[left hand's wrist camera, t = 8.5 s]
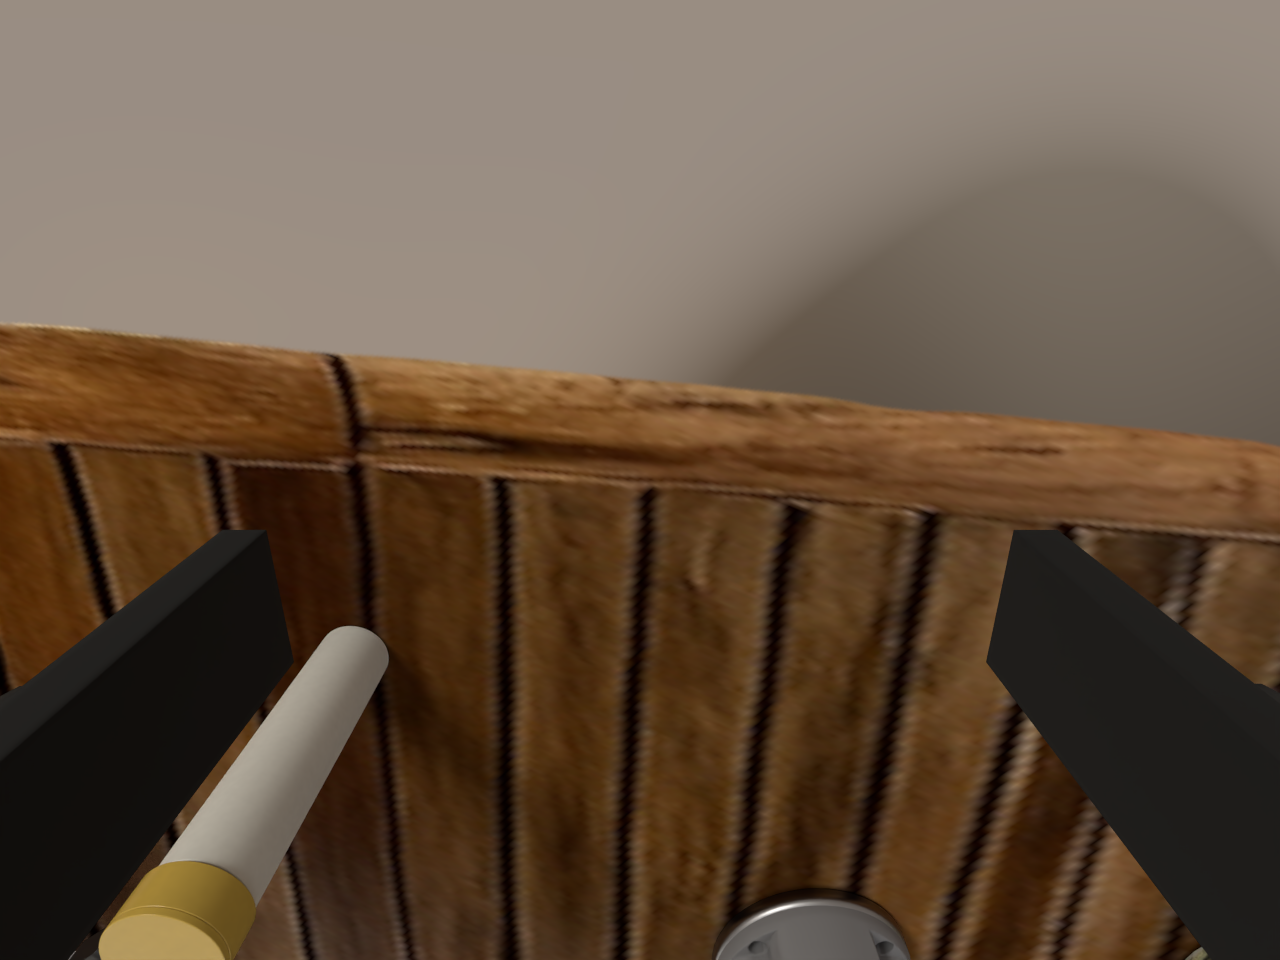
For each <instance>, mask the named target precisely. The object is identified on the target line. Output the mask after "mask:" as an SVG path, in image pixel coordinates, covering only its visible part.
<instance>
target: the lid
mask: <svg viewBox="0 0 1280 960" xmlns="http://www.w3.org/2000/svg"><path fill="white" fill-rule="evenodd" d="M255 916H256V906H255V902H254V899H253V897H252V895H251V893H250V892H249V890H248V889H247V888H246V886H245V885H244V884H243V883H242V882H241V881H239V880H238V879H237V878H236V877H234V876H233V875H231V874H230V873H228V872H226V871H224V870H222V869H220V868H218V867H215V866H212V865H209V864H205V863H201V862H194V861H175V862H169V863H166V864H162V865H160V866H158V867H156V868H154V869H152V870H151V871H150V872H148V873H147V874H146V875H145V876H144V877H143V879H142V880H141V881H140V883H139V884H138V885H137V887H136V888H135V890H134V891H133V892H132V894H131V895H130V896H129V898H128V899H127V900H126V902H125V903H124V904H123V906H122V907H121V909H120V910H119V911H118V913H117V914H116V915H115V917H114V918H113V919H112V921H111V922H110V924H109V925H108V926H107V927H106V929H105V930H104V932H103V933H102V935H101V938H100V941H99V954H100V958H101V960H234V958H235V956H236V955H237V953H238V951H239V949H240V947H241V945H242V943H243V942H244V940H245V938H246V936H247V934H248V932H249V930H250V929H251V927H252V925H253V923H254V920H255Z"/></svg>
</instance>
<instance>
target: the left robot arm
mask: <svg viewBox="0 0 1280 960" xmlns="http://www.w3.org/2000/svg"><path fill="white" fill-rule="evenodd" d="M293 662H294V661H293V656H292V651H291V646H290V641H289V637H288V632H287V627H286V622H285V618H284V613H283V608H282V603H281V599H280V594H279V589H278V584H277V579H276V575H275V570H274V565H273V560H272V556H271V551H270V546H269V541H268V536H267V532H266V530H222V531H221V532H219V533H218V534H217V535H216V536H214V537H213V538H212V539H210V540H209V541H208V542H207V543H205V544H204V545H203V546H201V547H200V548H199V549H198V550H196V551H195V552H194V553H192V554H191V555H190V556H189V557H187V558H186V559H185V560H183V561H182V562H181V563H180V564H178V565H177V566H176V567H175V568H173V569H172V570H171V571H169V572H168V573H167V574H166V575H164V576H163V577H162V578H160V579H159V580H158V581H157V582H155V583H154V584H153V585H151V586H150V587H149V588H148V589H146V590H145V591H144V592H142V593H141V594H140V595H139V596H137V597H136V598H135V599H134V600H132V601H131V602H130V603H128V604H127V605H126V606H125V607H123V608H122V609H121V610H119V611H118V612H117V613H116V614H114V615H113V616H112V617H110V618H109V619H108V620H107V621H105V622H104V623H103V624H101V625H100V626H99V627H98V628H96V629H95V630H94V631H92V632H91V633H90V634H89V635H87V636H86V637H85V638H84V639H82V640H81V641H80V642H78V643H77V644H76V645H75V646H73V647H72V648H71V649H69V650H68V651H67V652H66V653H64V654H63V655H62V656H60V657H59V658H58V659H57V660H55V661H54V662H53V663H51V664H50V665H49V666H48V667H46V668H45V669H44V670H42V671H41V672H40V673H39V674H37V675H36V676H35V677H34V678H32V679H31V680H30V681H28V682H27V683H26V684H25V685H23V686H19V687H17V688H15V689H13V690H11V691H10V692H8V693H6V694H4V695H2V696H0V960H69V958H70V957H71V956H72V954H73V953H74V952H75V950H76V949H77V948H78V947H79V945H80V944H81V943H82V941H83V940H84V939H85V937H86V936H87V935H88V933H89V932H90V931H91V929H92V928H93V927H94V925H95V924H96V923H97V921H98V920H99V919H100V917H101V916H102V915H103V913H104V912H105V911H106V910H107V908H108V907H109V906H110V904H111V903H112V902H113V900H114V899H115V898H116V896H117V895H118V894H119V892H120V891H121V890H122V888H123V887H124V886H125V884H126V883H127V882H128V880H129V879H130V878H131V876H132V875H133V874H134V873H135V871H136V870H137V869H138V867H139V866H140V865H141V863H142V862H143V861H144V859H145V858H146V857H147V855H148V854H149V853H150V851H151V850H152V849H153V847H154V846H155V845H156V843H157V842H158V841H159V839H160V838H161V837H162V836H163V834H164V833H165V832H166V830H167V829H168V828H169V826H170V825H171V824H172V822H173V821H174V820H175V818H176V817H177V816H178V814H179V813H180V812H181V810H182V809H183V808H184V806H185V805H186V804H187V802H188V801H189V800H190V798H191V797H192V796H193V795H194V793H195V792H196V791H197V789H198V788H199V787H200V785H201V784H202V783H203V781H204V780H205V779H206V777H207V776H208V775H209V773H210V772H211V771H212V769H213V768H214V767H215V765H216V764H217V763H218V761H219V760H220V759H221V758H222V756H223V755H224V754H225V752H226V751H227V750H228V748H229V747H230V746H231V744H232V743H233V742H234V740H235V739H236V738H237V736H238V735H239V734H240V732H241V731H242V730H243V728H244V727H245V726H246V724H247V723H248V722H249V721H250V719H251V718H252V717H253V715H254V714H255V713H256V711H257V710H258V709H259V707H260V706H261V705H262V703H263V702H264V701H265V699H266V698H267V697H268V695H269V694H270V693H271V691H272V690H273V689H274V687H275V686H276V685H277V684H278V682H279V681H280V680H281V678H282V677H283V676H284V674H285V673H286V672H287V670H288V669H289V668H290V666H291V665H292V664H293ZM986 662H987V664H988V665H989V666H990V668H991V669H992V670H993V672H994V673H995V674H996V676H997V677H998V678H999V680H1000V681H1001V682H1002V684H1003V685H1004V686H1005V687H1006V689H1007V690H1008V691H1009V693H1010V694H1011V695H1012V697H1013V698H1014V699H1015V701H1016V702H1017V703H1018V705H1019V706H1020V707H1021V709H1022V710H1023V711H1024V713H1025V714H1026V715H1027V717H1028V718H1029V719H1030V721H1031V722H1032V723H1033V724H1034V726H1035V727H1036V728H1037V730H1038V731H1039V732H1040V734H1041V735H1042V736H1043V738H1044V739H1045V740H1046V742H1047V743H1048V744H1049V746H1050V747H1051V748H1052V750H1053V751H1054V752H1055V754H1056V755H1057V756H1058V758H1059V759H1060V760H1061V761H1062V763H1063V764H1064V765H1065V767H1066V768H1067V769H1068V771H1069V772H1070V773H1071V775H1072V776H1073V777H1074V779H1075V780H1076V781H1077V783H1078V784H1079V785H1080V787H1081V788H1082V789H1083V791H1084V792H1085V793H1086V795H1087V796H1088V797H1089V798H1090V800H1091V801H1092V802H1093V804H1094V805H1095V806H1096V808H1097V809H1098V810H1099V812H1100V813H1101V814H1102V816H1103V817H1104V818H1105V820H1106V821H1107V822H1108V824H1109V825H1110V826H1111V828H1112V829H1113V830H1114V832H1115V833H1116V834H1117V836H1118V837H1119V838H1120V839H1121V841H1122V842H1123V843H1124V845H1125V846H1126V847H1127V849H1128V850H1129V851H1130V853H1131V854H1132V855H1133V857H1134V858H1135V859H1136V861H1137V862H1138V863H1139V865H1140V866H1141V867H1142V869H1143V870H1144V871H1145V873H1146V874H1147V875H1148V876H1149V878H1150V879H1151V880H1152V882H1153V883H1154V884H1155V886H1156V887H1157V888H1158V890H1159V891H1160V892H1161V894H1162V895H1163V896H1164V898H1165V899H1166V900H1167V902H1168V903H1169V904H1170V906H1171V907H1172V908H1173V910H1174V911H1175V912H1176V913H1177V915H1178V916H1179V917H1180V919H1181V920H1182V921H1183V923H1184V924H1185V925H1186V927H1187V928H1188V929H1189V931H1190V932H1191V933H1192V935H1193V936H1194V937H1195V939H1196V940H1197V941H1198V943H1199V944H1200V945H1201V947H1202V948H1203V949H1204V950H1205V952H1206V953H1207V954H1208V956H1209V957H1210V958H1211V960H1280V693H1278V692H1276V691H1274V690H1273V689H1271V688H1269V687H1267V686H1265V685H1263V684H1254V683H1253V682H1252V681H1250V680H1249V679H1248V678H1246V677H1245V676H1244V675H1243V674H1241V673H1240V672H1239V671H1238V670H1236V669H1235V668H1234V667H1232V666H1231V665H1230V664H1229V663H1227V662H1226V661H1225V660H1223V659H1222V658H1221V657H1220V656H1218V655H1217V654H1216V653H1214V652H1213V651H1212V650H1211V649H1209V648H1208V647H1207V646H1205V645H1204V644H1203V643H1202V642H1200V641H1199V640H1198V639H1196V638H1195V637H1194V636H1193V635H1191V634H1190V633H1189V632H1188V631H1186V630H1185V629H1184V628H1182V627H1181V626H1180V625H1179V624H1177V623H1176V622H1175V621H1173V620H1172V619H1171V618H1170V617H1168V616H1167V615H1166V614H1164V613H1163V612H1162V611H1161V610H1159V609H1158V608H1157V607H1155V606H1154V605H1153V604H1152V603H1150V602H1149V601H1148V600H1146V599H1145V598H1144V597H1143V596H1141V595H1140V594H1139V593H1138V592H1136V591H1135V590H1134V589H1132V588H1131V587H1130V586H1129V585H1127V584H1126V583H1125V582H1123V581H1122V580H1121V579H1120V578H1118V577H1117V576H1116V575H1114V574H1113V573H1112V572H1111V571H1109V570H1108V569H1107V568H1105V567H1104V566H1103V565H1102V564H1100V563H1099V562H1098V561H1096V560H1095V559H1094V558H1093V557H1091V556H1090V555H1089V554H1088V553H1086V552H1085V551H1084V550H1082V549H1081V548H1080V547H1079V546H1077V545H1076V544H1075V543H1073V542H1072V541H1071V540H1070V539H1068V538H1067V537H1066V536H1064V535H1063V534H1062V533H1061V532H1059V531H1058V530H1014V532H1013V536H1012V541H1011V546H1010V551H1009V556H1008V560H1007V565H1006V570H1005V575H1004V579H1003V584H1002V589H1001V594H1000V599H999V603H998V608H997V613H996V618H995V622H994V627H993V632H992V637H991V641H990V646H989V651H988V656H987V661H986ZM712 960H910V955H909V952H908V949H907V946H906V943H905V940H904V937H903V935H902V932H901V930H900V928H899V926H898V924H897V923H896V921H895V920H894V919H893V918H892V917H891V915H890V914H888V913H887V912H886V911H885V910H884V909H883V908H881V907H880V906H879V905H877V904H875V903H874V902H872V901H870V900H868V899H866V898H863V897H861V896H858V895H855V894H852V893H848V892H844V891H839V890H831V889H802V890H794V891H789V892H784V893H780V894H777V895H774V896H771V897H768V898H765V899H763V900H760V901H758V902H756V903H754V904H752V905H751V906H749V907H747V908H746V909H744V910H743V911H741V912H740V913H739V914H737V915H736V916H735V917H734V918H733V919H732V920H731V921H730V922H729V923H728V924H727V925H726V926H725V927H724V929H723V930H722V931H721V933H720V935H719V936H718V938H717V940H716V943H715V945H714V949H713V954H712Z"/></svg>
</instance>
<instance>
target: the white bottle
mask: <svg viewBox="0 0 1280 960" xmlns="http://www.w3.org/2000/svg"><path fill="white" fill-rule="evenodd" d="M388 661H389V655H388V651H387V648H386V646H385V644H384V643H383V641H382V640H381V639H380V638H379V637H378V636H377V635H376V634H374V633H373V632H371V631H369V630H367V629H364V628H361V627H356V626H344V627H340V628H337V629H335V630H333V631H331V632H330V633H329V634H327V636H326V637H325V638H324V639H323V641H322V642H321V644H320V645H319V646H318V648H317V649H316V650H315V652H314V653H313V655H312V656H311V657H310V659H309V660H308V661H307V663H306V664H305V666H304V667H303V668H302V670H301V671H300V672H299V674H298V675H297V677H296V678H295V679H294V681H293V682H292V683H291V685H290V686H289V688H288V689H287V690H286V692H285V693H284V694H283V696H282V697H281V699H280V700H279V701H278V703H277V704H276V705H275V707H274V708H273V710H272V711H271V712H270V714H269V715H268V716H267V718H266V719H265V721H264V722H263V723H262V725H261V726H260V727H259V729H258V730H257V732H256V733H255V734H254V736H253V737H252V738H251V740H250V741H249V743H248V744H247V745H246V747H245V748H244V749H243V751H242V752H241V754H240V755H239V756H238V758H237V759H236V760H235V762H234V763H233V765H232V766H231V767H230V769H229V770H228V771H227V773H226V774H225V776H224V777H223V778H222V780H221V781H220V782H219V784H218V785H217V787H216V788H215V789H214V791H213V792H212V793H211V795H210V796H209V798H208V799H207V800H206V802H205V803H204V804H203V806H202V807H201V808H200V810H199V811H198V813H197V814H196V815H195V817H194V818H193V819H192V821H191V822H190V824H189V825H188V826H187V828H186V829H185V830H184V832H183V833H182V835H181V836H180V837H179V839H178V840H177V841H176V843H175V844H174V846H173V847H172V848H171V850H170V851H169V852H168V854H167V855H166V857H165V858H164V859H163V861H162V862H161V863H160V865H162V864H166V863H169V862H175V861H194V862H201V863H205V864H209V865H212V866H215V867H218V868H220V869H222V870H224V871H226V872H228V873H230V874H231V875H233V876H234V877H236V878H237V879H238V880H239V881H241V882H242V883H243V884H244V885H245V886H246V888H247V889H248V890H249V892H250V893H251V895H252V897H253V899H254V902H255V906H257V904H258V903H259V901H260V899H261V897H262V895H263V893H264V892H265V890H266V888H267V886H268V884H269V883H270V881H271V879H272V877H273V875H274V873H275V872H276V870H277V868H278V866H279V864H280V862H281V861H282V859H283V857H284V855H285V853H286V851H287V850H288V848H289V846H290V844H291V842H292V840H293V839H294V837H295V835H296V833H297V831H298V829H299V828H300V826H301V824H302V822H303V820H304V818H305V817H306V815H307V813H308V811H309V809H310V807H311V806H312V804H313V802H314V800H315V798H316V796H317V795H318V793H319V791H320V789H321V787H322V786H323V784H324V782H325V780H326V778H327V776H328V775H329V773H330V771H331V769H332V767H333V765H334V764H335V762H336V760H337V758H338V756H339V754H340V753H341V751H342V749H343V747H344V745H345V743H346V742H347V740H348V738H349V736H350V734H351V732H352V731H353V729H354V727H355V725H356V723H357V721H358V720H359V718H360V716H361V714H362V712H363V710H364V709H365V707H366V705H367V703H368V701H369V699H370V698H371V696H372V694H373V692H374V690H375V689H376V687H377V685H378V683H379V681H380V679H381V678H382V676H383V674H384V672H385V670H386V668H387V666H388ZM160 865H159V866H160Z"/></svg>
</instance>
